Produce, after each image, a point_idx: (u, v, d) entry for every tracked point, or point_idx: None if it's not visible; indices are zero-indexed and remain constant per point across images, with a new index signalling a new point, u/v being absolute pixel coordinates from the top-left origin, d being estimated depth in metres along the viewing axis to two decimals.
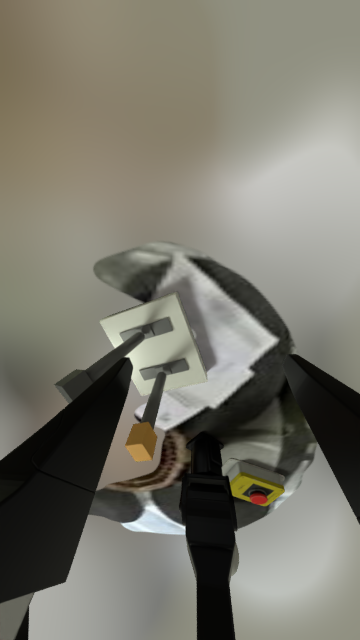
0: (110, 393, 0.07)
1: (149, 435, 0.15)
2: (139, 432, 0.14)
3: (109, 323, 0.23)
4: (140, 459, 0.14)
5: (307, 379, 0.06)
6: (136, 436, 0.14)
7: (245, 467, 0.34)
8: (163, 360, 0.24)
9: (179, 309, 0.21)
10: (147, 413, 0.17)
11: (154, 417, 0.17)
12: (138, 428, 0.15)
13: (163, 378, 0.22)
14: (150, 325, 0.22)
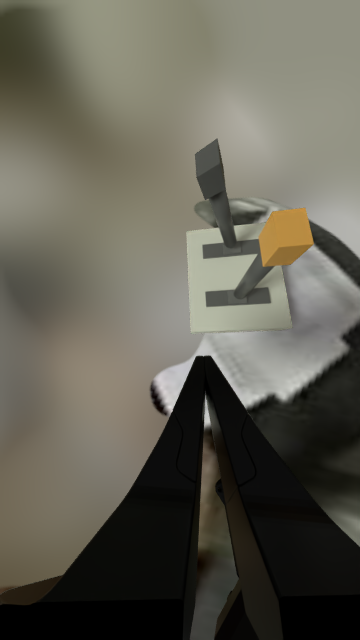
0: (204, 394, 0.06)
1: None
2: None
3: (196, 235, 0.23)
4: (290, 242, 0.08)
5: (206, 379, 0.07)
6: None
7: None
8: None
9: None
10: None
11: None
12: None
13: None
14: (240, 242, 0.21)
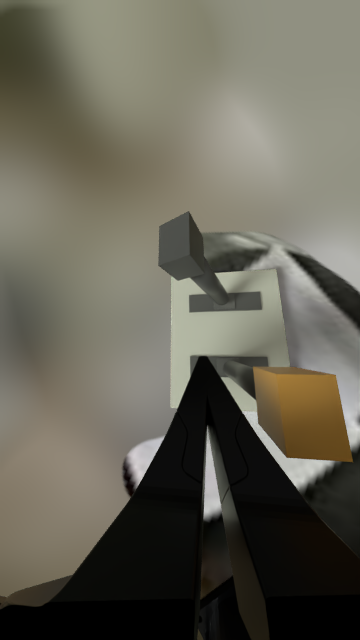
0: None
1: None
2: (292, 370, 0.06)
3: (182, 281, 0.19)
4: (308, 449, 0.04)
5: None
6: (292, 371, 0.05)
7: None
8: (233, 350, 0.16)
9: (276, 286, 0.17)
10: None
11: None
12: (277, 368, 0.06)
13: None
14: (234, 294, 0.17)
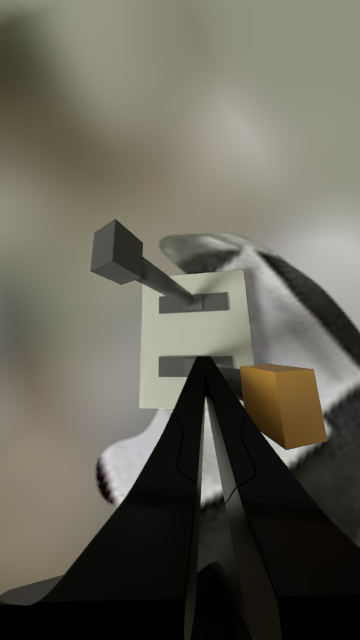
0: (204, 394, 0.06)
1: None
2: (275, 367, 0.06)
3: None
4: (300, 437, 0.05)
5: (205, 379, 0.07)
6: (279, 368, 0.06)
7: None
8: (200, 350, 0.17)
9: (243, 287, 0.18)
10: None
11: None
12: (261, 365, 0.07)
13: None
14: (202, 295, 0.18)
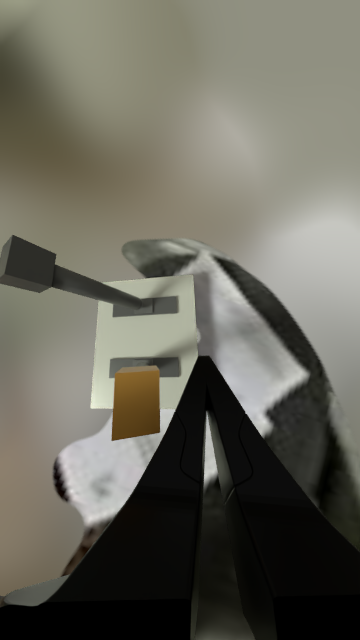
0: (206, 394, 0.06)
1: None
2: (143, 368, 0.07)
3: None
4: (129, 430, 0.06)
5: None
6: (139, 369, 0.07)
7: None
8: (149, 352, 0.18)
9: (192, 290, 0.18)
10: None
11: None
12: (137, 367, 0.07)
13: None
14: (153, 299, 0.18)
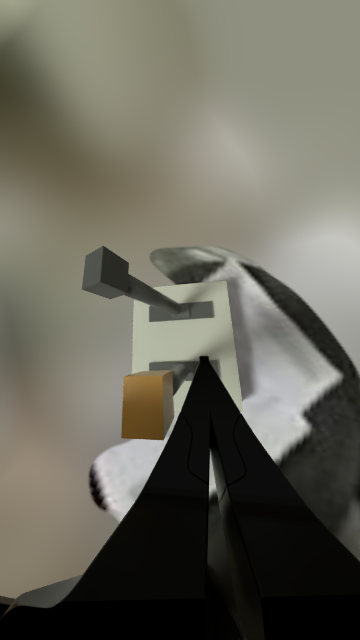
0: None
1: (169, 390, 0.07)
2: (155, 372, 0.07)
3: None
4: (135, 431, 0.06)
5: None
6: (149, 373, 0.07)
7: None
8: (188, 355, 0.18)
9: (226, 296, 0.19)
10: None
11: (175, 385, 0.09)
12: (152, 371, 0.08)
13: (186, 370, 0.15)
14: (189, 304, 0.19)
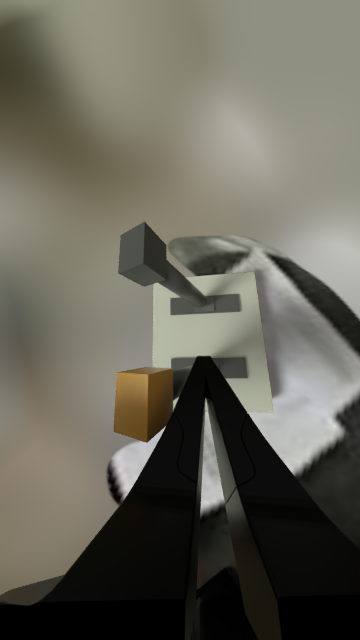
0: None
1: (164, 389, 0.07)
2: (151, 370, 0.07)
3: None
4: (124, 428, 0.06)
5: None
6: (143, 371, 0.07)
7: None
8: (212, 352, 0.17)
9: (254, 288, 0.18)
10: (173, 372, 0.09)
11: (181, 384, 0.09)
12: (151, 368, 0.08)
13: None
14: (214, 297, 0.18)
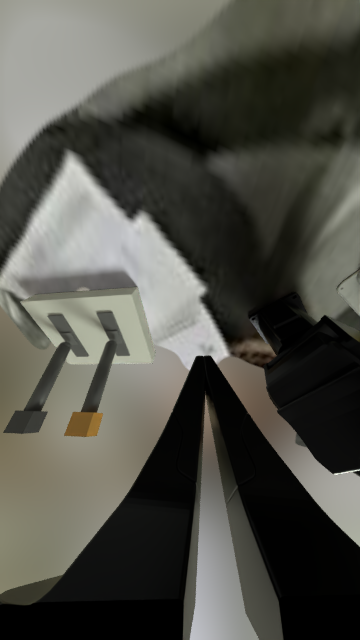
0: (204, 394, 0.06)
1: (77, 421, 0.15)
2: None
3: (69, 358, 0.26)
4: None
5: (206, 379, 0.07)
6: None
7: None
8: (102, 332, 0.22)
9: (35, 302, 0.20)
10: None
11: (87, 399, 0.16)
12: None
13: (104, 350, 0.20)
14: (60, 332, 0.22)
